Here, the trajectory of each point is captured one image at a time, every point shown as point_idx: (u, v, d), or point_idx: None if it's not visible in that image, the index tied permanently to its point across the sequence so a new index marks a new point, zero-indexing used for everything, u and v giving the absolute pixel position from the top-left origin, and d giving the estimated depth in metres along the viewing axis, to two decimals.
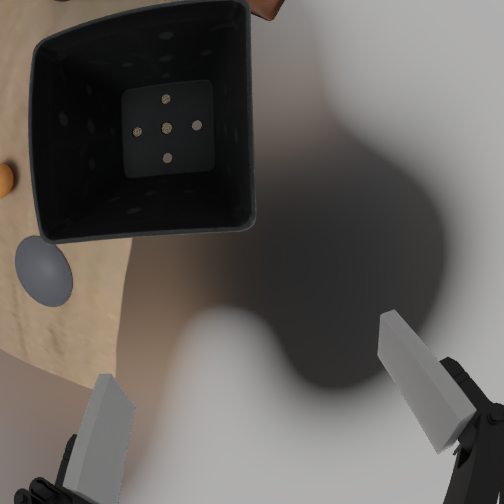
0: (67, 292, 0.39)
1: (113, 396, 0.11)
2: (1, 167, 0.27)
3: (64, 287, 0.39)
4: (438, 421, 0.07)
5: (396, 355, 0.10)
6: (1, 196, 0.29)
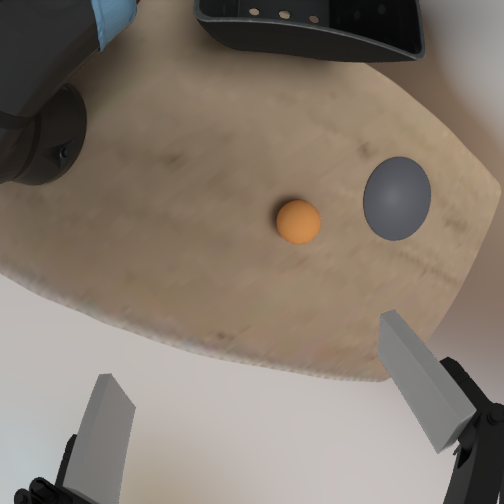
0: (421, 173, 0.37)
1: (113, 396, 0.11)
2: (286, 208, 0.33)
3: (417, 174, 0.37)
4: (438, 421, 0.07)
5: (396, 355, 0.10)
6: (319, 216, 0.34)
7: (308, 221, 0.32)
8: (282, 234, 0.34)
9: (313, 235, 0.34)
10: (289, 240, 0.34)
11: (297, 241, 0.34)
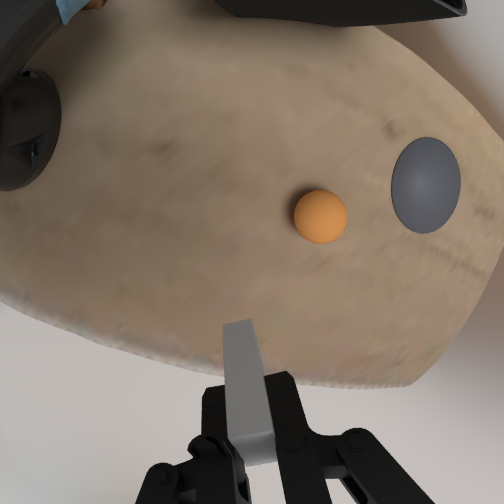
0: (450, 156, 0.30)
1: None
2: (305, 200, 0.27)
3: (446, 157, 0.30)
4: None
5: None
6: None
7: (334, 215, 0.26)
8: (302, 232, 0.28)
9: (340, 232, 0.27)
10: (311, 239, 0.28)
11: (321, 240, 0.27)
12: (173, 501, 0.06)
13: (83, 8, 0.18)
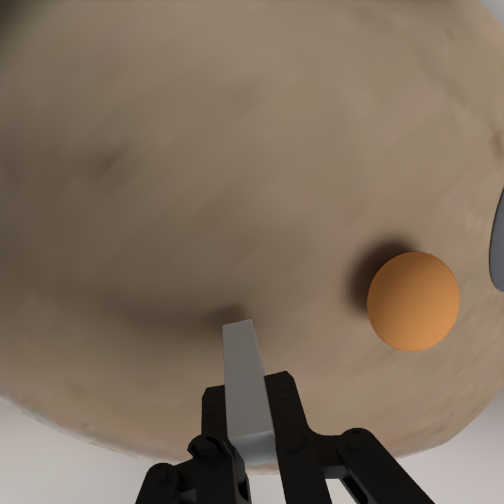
0: None
1: None
2: (401, 281, 0.12)
3: None
4: None
5: None
6: None
7: (450, 311, 0.11)
8: (385, 338, 0.13)
9: (446, 334, 0.12)
10: (398, 348, 0.13)
11: (416, 350, 0.12)
12: (173, 501, 0.06)
13: None
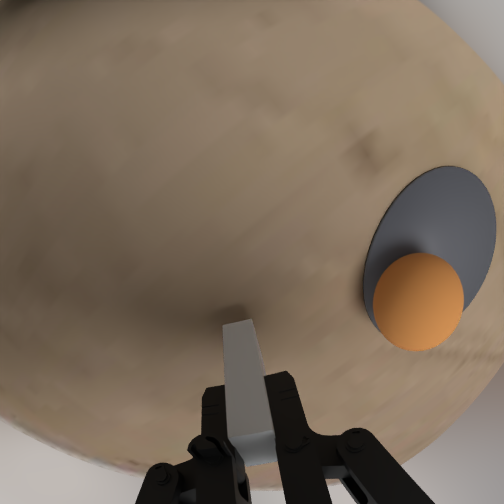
0: (485, 200, 0.15)
1: None
2: (399, 258, 0.14)
3: (478, 203, 0.15)
4: None
5: None
6: (425, 326, 0.11)
7: (380, 305, 0.13)
8: None
9: (389, 340, 0.13)
10: None
11: None
12: (173, 501, 0.06)
13: None
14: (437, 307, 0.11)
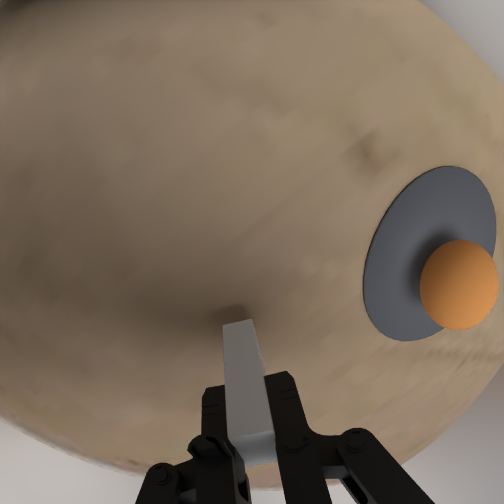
0: (485, 200, 0.15)
1: None
2: (444, 260, 0.13)
3: (478, 203, 0.15)
4: None
5: None
6: (498, 283, 0.12)
7: (479, 299, 0.11)
8: (425, 307, 0.14)
9: (478, 322, 0.12)
10: (435, 321, 0.14)
11: (448, 327, 0.13)
12: (173, 501, 0.06)
13: None
14: None
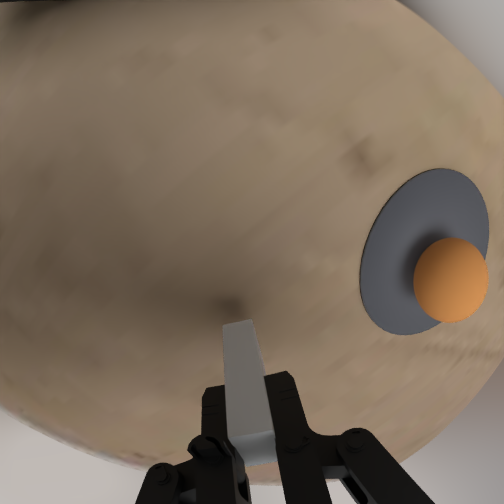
0: (477, 200, 0.16)
1: None
2: (435, 256, 0.14)
3: (470, 203, 0.16)
4: None
5: None
6: None
7: (468, 292, 0.12)
8: (419, 301, 0.15)
9: (469, 315, 0.13)
10: (428, 314, 0.15)
11: (440, 319, 0.14)
12: (173, 501, 0.06)
13: None
14: (485, 262, 0.13)
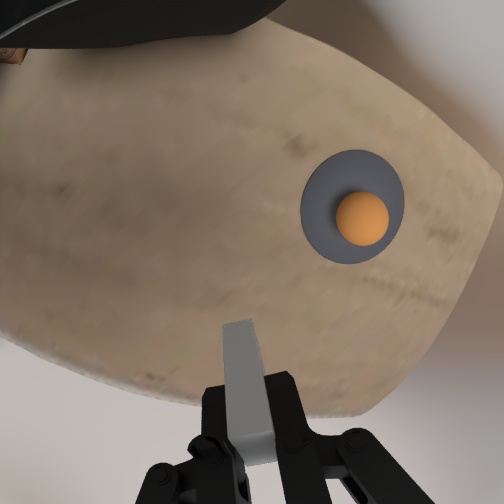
0: (388, 170, 0.28)
1: None
2: (345, 200, 0.26)
3: (381, 172, 0.28)
4: None
5: None
6: (387, 215, 0.25)
7: (366, 220, 0.24)
8: None
9: (374, 238, 0.25)
10: (346, 239, 0.27)
11: (354, 241, 0.27)
12: (173, 501, 0.06)
13: (8, 62, 0.18)
14: (384, 205, 0.25)
